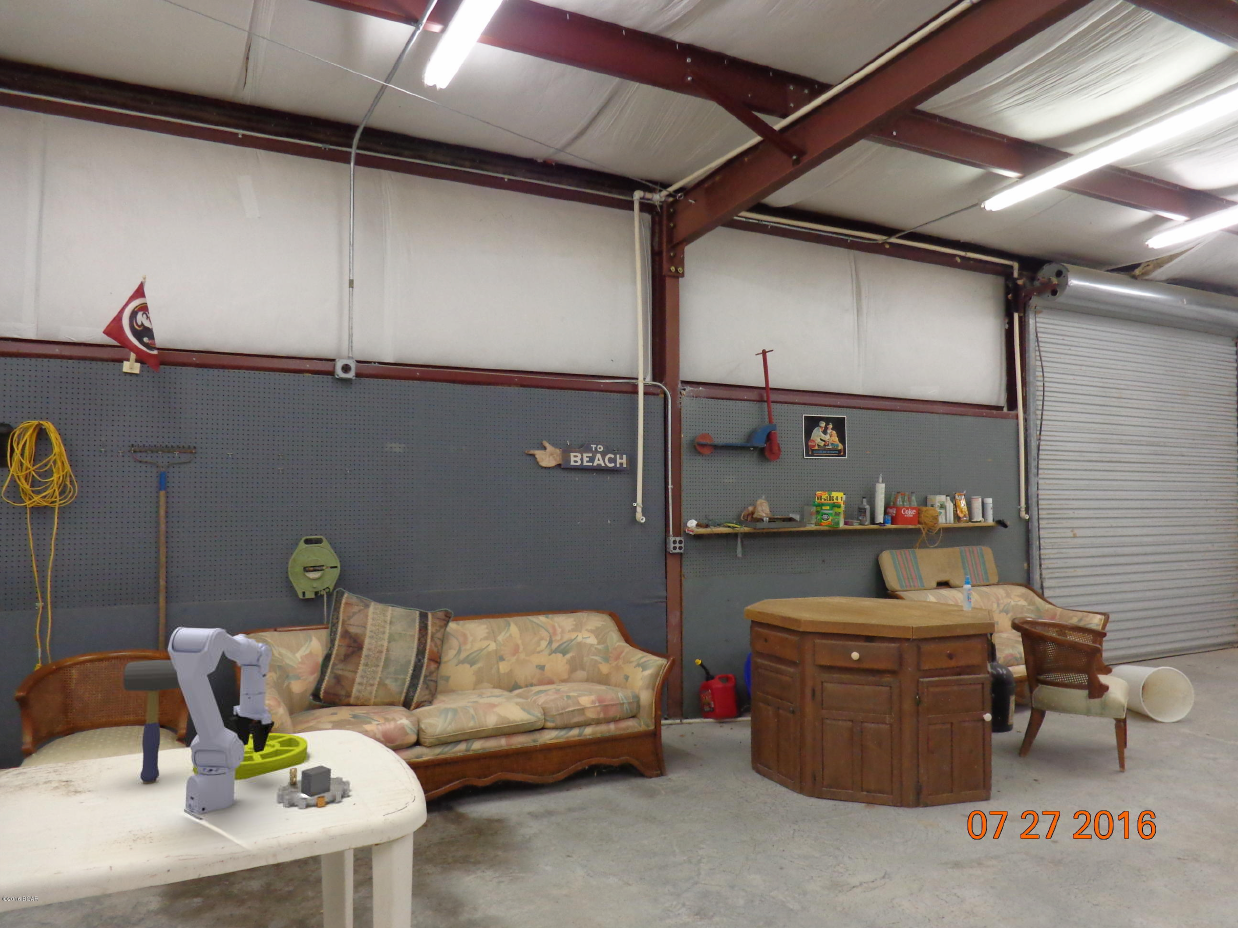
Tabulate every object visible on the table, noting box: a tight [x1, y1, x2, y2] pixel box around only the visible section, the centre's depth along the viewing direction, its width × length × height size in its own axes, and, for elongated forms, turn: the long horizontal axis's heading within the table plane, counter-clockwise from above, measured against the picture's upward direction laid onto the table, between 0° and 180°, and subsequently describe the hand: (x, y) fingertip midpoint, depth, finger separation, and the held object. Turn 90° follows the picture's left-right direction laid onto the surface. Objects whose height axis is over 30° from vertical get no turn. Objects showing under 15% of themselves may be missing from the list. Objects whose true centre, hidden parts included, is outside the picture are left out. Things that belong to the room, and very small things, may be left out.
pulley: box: [192, 732, 308, 781], centre depth 218 cm, size 28×28×5 cm
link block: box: [300, 764, 332, 797], centre depth 187 cm, size 5×4×5 cm
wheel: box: [276, 767, 351, 810], centre depth 191 cm, size 16×16×6 cm
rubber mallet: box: [122, 659, 181, 784], centre depth 202 cm, size 12×8×30 cm, turn 107°
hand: (251, 748), depth 199 cm, fingers open, 7 cm apart
